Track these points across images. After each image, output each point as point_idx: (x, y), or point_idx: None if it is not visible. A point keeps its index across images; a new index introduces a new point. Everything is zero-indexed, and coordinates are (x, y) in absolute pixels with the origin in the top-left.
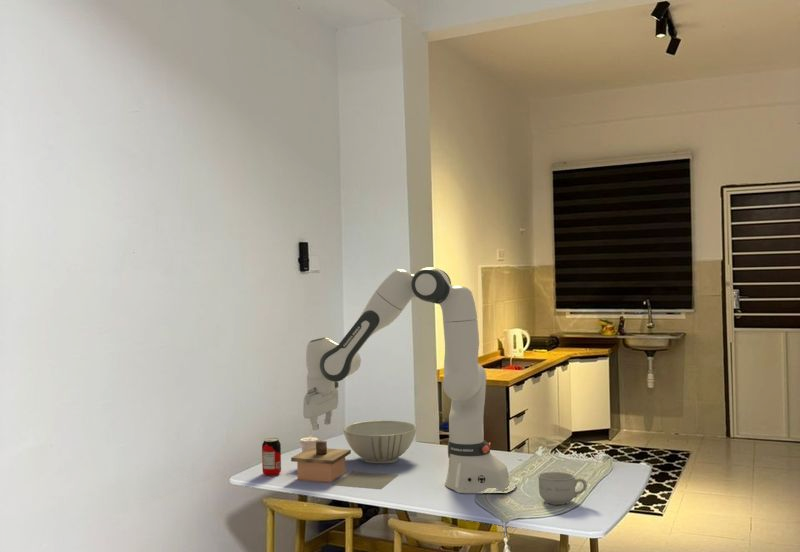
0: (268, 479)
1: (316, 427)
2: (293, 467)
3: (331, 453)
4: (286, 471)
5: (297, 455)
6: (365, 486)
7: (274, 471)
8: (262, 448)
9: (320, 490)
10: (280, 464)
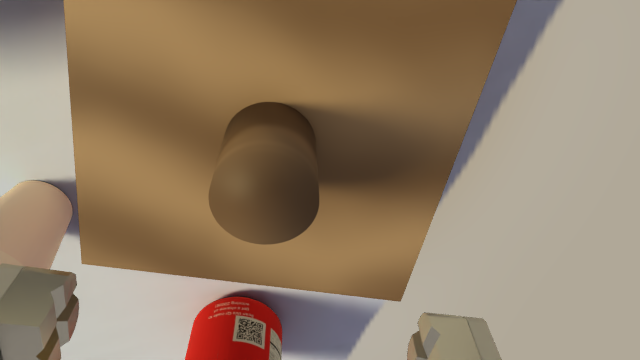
0: (326, 308)
1: (492, 348)
2: (97, 270)
3: (250, 62)
4: (179, 279)
5: (339, 283)
6: None
7: (273, 318)
8: None
9: (543, 13)
10: (230, 325)
